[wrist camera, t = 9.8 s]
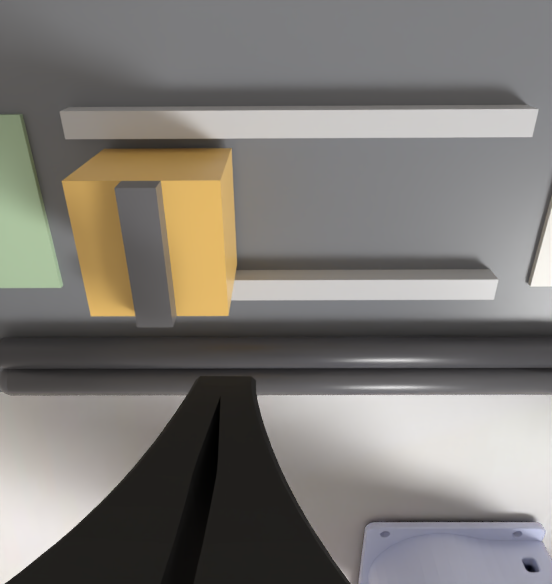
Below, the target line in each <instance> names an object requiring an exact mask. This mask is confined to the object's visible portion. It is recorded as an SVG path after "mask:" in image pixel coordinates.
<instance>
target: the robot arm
mask: <svg viewBox="0 0 552 584" xmlns="http://www.w3.org/2000/svg"><path fill="white" fill-rule="evenodd" d="M544 535H545V529H544V527H543V526H542V524H540V523H538V522H372V523H369V524H368V525H367V526H366V527H365V533H364V541H363V549H362V557H361V565H360V573H359V581H358V584H552V559H551V557H550V555H549V553H548V551H547V549H546V547H545V545H544V543H543V542H542V540H543V538H544ZM5 584H350V582H349V581H348V580H347V578H346V577H345V575H344V574H343V573H342V571H341V570H340V569H339V567H338V566H337V565H336V563H335V562H334V560H333V559H332V557H331V556H330V554H329V553H328V551H327V550H326V548H325V547H324V545H323V544H322V542H321V541H320V539H319V538H318V536H317V534H316V533H315V531H314V530H313V528H312V527H311V525H310V524H309V522H308V520H307V518H306V517H305V515H304V513H303V511H302V510H301V508H300V506H299V504H298V503H297V501H296V499H295V497H294V495H293V493H292V491H291V489H290V487H289V485H288V483H287V481H286V479H285V477H284V475H283V473H282V471H281V468H280V466H279V464H278V461H277V459H276V457H275V454H274V452H273V449H272V447H271V444H270V441H269V438H268V436H267V433H266V430H265V427H264V424H263V420H262V417H261V413H260V409H259V405H258V400H257V394H256V380H255V379H254V378H253V377H252V376H200V377H198V378H197V379H196V380H195V382H194V384H193V386H192V387H191V389H190V391H189V392H188V394H187V396H186V397H185V399H184V401H183V402H182V404H181V405H180V407H179V408H178V410H177V411H176V413H175V414H174V416H173V417H172V418H171V420H170V421H169V423H168V424H167V425H166V427H165V428H164V430H163V431H162V432H161V434H160V435H159V436H158V438H157V439H156V440H155V442H154V443H153V444H152V445H151V447H150V448H149V449H148V450H147V452H146V453H145V454H144V455H143V456H142V458H141V459H140V460H139V461H138V463H137V464H136V465H135V466H134V467H133V469H132V470H131V471H130V472H129V473H128V474H127V475H126V476H125V478H124V479H123V480H122V481H121V482H120V483H119V484H118V485H117V486H116V487H115V488H114V489H113V490H112V491H111V493H110V494H109V495H108V496H107V497H106V498H105V499H104V500H103V501H102V502H101V503H100V504H99V505H98V506H97V507H95V508H94V509H93V510H92V511H91V512H90V513H89V514H88V515H87V516H86V517H85V518H84V519H83V520H82V521H81V522H80V523H79V524H78V525H76V526H75V527H74V528H73V529H72V530H71V531H70V532H69V533H67V534H66V535H65V536H64V537H63V538H62V539H61V540H59V541H58V542H57V543H56V544H54V545H53V546H52V547H51V548H50V549H48V550H47V551H46V552H45V553H43V554H42V555H41V556H40V557H38V558H37V559H36V560H35V561H33V562H32V563H31V564H30V565H29V566H27V567H26V568H25V569H24V570H22V571H21V572H20V573H18V574H17V575H16V576H14V577H13V578H12V579H11V580H9V581H8V582H7V583H5Z"/></svg>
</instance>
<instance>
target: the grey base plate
mask: <svg viewBox="0 0 552 584" xmlns="http://www.w3.org/2000/svg"><path fill="white" fill-rule="evenodd" d="M162 148H232V167H233V188H234V209H235V230H236V251H237V267H236V273H235V279H234V285H233V291H232V298H231V304H230V310H229V316H177V317H176V320H175V323H174V326H173V327H137V322H136V316H91V315H90V310H89V305H88V301H87V296H86V291H85V287H84V282H83V278H82V273H81V268H80V264H79V259H78V254H77V250H76V245H75V240H74V236H73V231H72V227H71V222H70V217H69V213H68V208H67V203H66V199H65V194H64V189H63V185H62V180H64V179H65V178H66V177H68V176H69V175H70V174H72V173H73V172H74V171H76V170H77V169H78V168H79V167H81V166H82V165H83V164H85V163H86V162H87V161H89V160H90V159H91V158H93V157H94V156H95V155H96V154H98V153H99V152H100V151H102V150H103V149H162ZM200 376H252V377H253V378H254V379H255V380H256V394H257V395H552V0H0V392H4V393H5V394H8V395H187V394H188V392H189V391H190V389H191V387H192V386H193V384H194V382H195V380H196V379H197V378H198V377H200Z"/></svg>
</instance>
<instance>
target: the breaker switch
mask: <svg viewBox="0 0 552 584" xmlns="http://www.w3.org/2000/svg"><path fill="white" fill-rule="evenodd" d="M62 185H63V189H64V194H65V199H66V203H67V208H68V213H69V217H70V222H71V227H72V231H73V236H74V240H75V245H76V250H77V254H78V259H79V264H80V268H81V273H82V278H83V282H84V287H85V291H86V296H87V301H88V305H89V310H90V315H91V316H136V322H137V327H173V326H174V323H175V320H176V317H177V316H229V310H230V304H231V298H232V291H233V285H234V279H235V273H236V267H237V251H236V230H235V209H234V188H233V167H232V148H162V149H103V150H102V151H100V152H99V153H98V154H96V155H95V156H94V157H93V158H91V159H90V160H89V161H87V162H86V163H85V164H83V165H82V166H81V167H79V168H78V169H77V170H76V171H74V172H73V173H72V174H70V175H69V176H68V177H66V178H65V179H64V180H62Z"/></svg>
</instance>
